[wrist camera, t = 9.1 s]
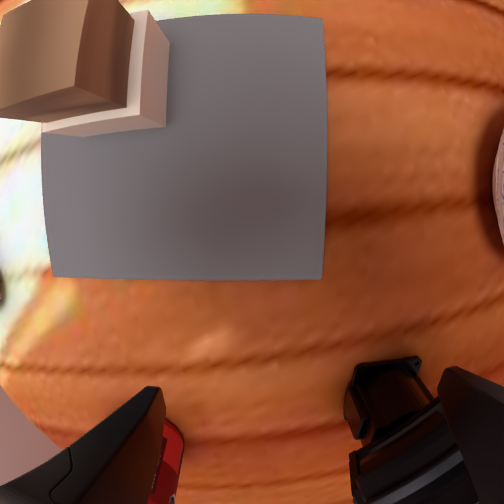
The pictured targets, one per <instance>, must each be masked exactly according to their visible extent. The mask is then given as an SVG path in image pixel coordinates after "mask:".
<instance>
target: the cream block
mask: <svg viewBox="0 0 504 504" xmlns="http://www.w3.org/2000/svg"><path fill="white" fill-rule="evenodd" d="M130 16H131V17H132V18H133V19H134V20H135V22H134V30H133V37H132V45H131V54H130V65H129V76H128V90H127V108H122V109H115V110H109V111H103V112H97V113H91V114H86V115H81V116H76V117H71V118H66V119H62V120H57V121H53V122H49V123H42V133H52V134H61V135H70V136H79V137H88V136H94V135H101V134H108V133H115V132H122V131H131V130H139V129H149V128H160V127H166V107H167V80H168V61H169V47H170V42H169V41H168V39H167V38H166V36H165V35H164V33H163V32H162V30H161V29H160V27H159V26H158V24H157V23H156V21H155V20H154V18H153V17H152V15H151V14H150V12H149V11H148V10H146V11H140V12H135V13H130Z"/></svg>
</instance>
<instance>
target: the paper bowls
mask: <svg viewBox="0 0 504 504" xmlns="http://www.w3.org/2000/svg"><path fill="white" fill-rule="evenodd" d="M493 199H494V206H495V211H496V215H497V218H498V225H499V229H500V233H501V236H502V240H503V244H504V129H503V132H502V136H501V137H500V143H499V146H498V151H497V154H496V158H495V162H494V169H493Z"/></svg>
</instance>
